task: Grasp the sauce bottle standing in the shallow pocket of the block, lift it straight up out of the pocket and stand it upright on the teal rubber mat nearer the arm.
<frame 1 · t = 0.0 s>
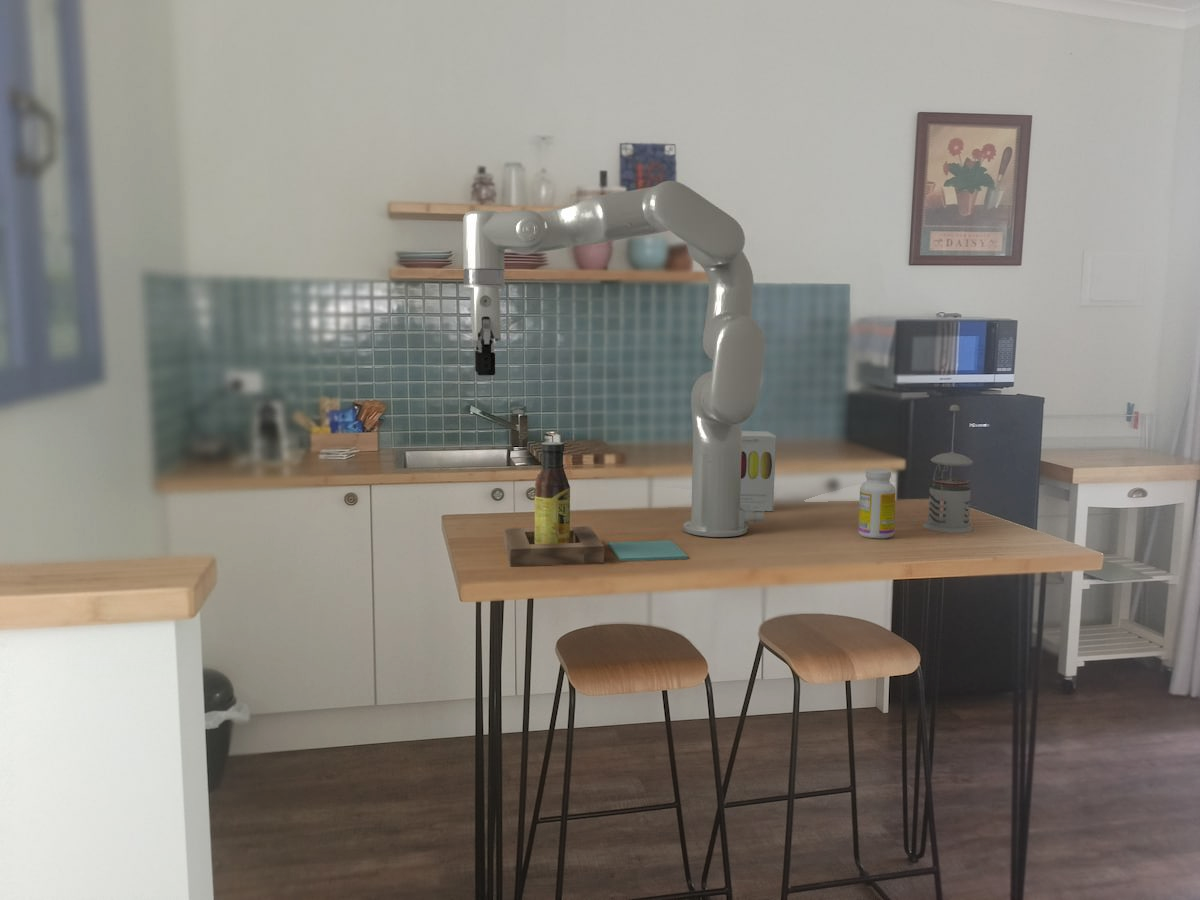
hand: (485, 373, 182), 31 cm above the table, tool pointing down, fingers open, 9 cm apart
sauce bottle: (552, 554, 174), resting in pocket block
supplement box: (748, 508, 217), on the table
french press: (946, 527, 199), on the table
supplement bottle: (875, 536, 191), on the table
pocket block: (552, 553, 174), on the table
teal mat: (646, 551, 176), on the table
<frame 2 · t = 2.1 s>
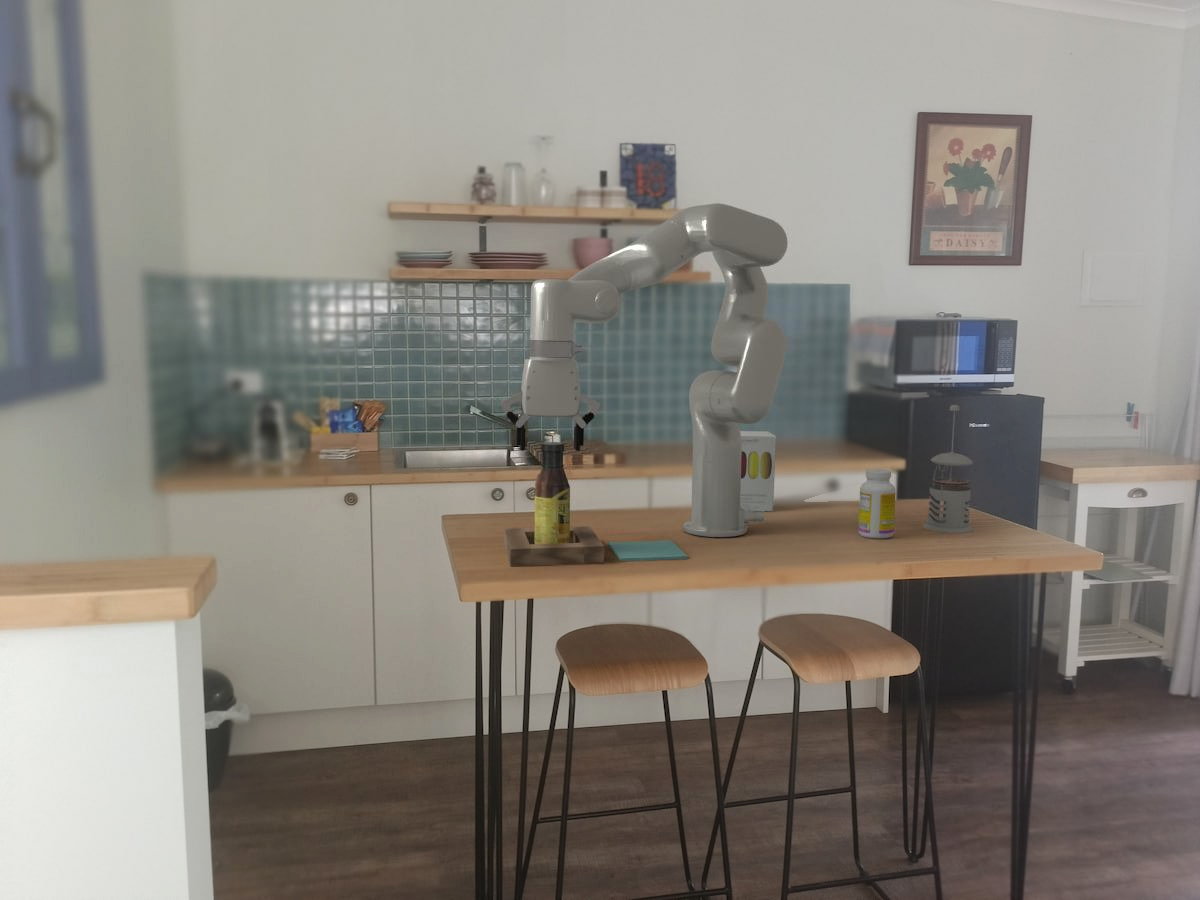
hand: (549, 449, 172), 19 cm above the table, tool pointing down, fingers open, 9 cm apart
nothing on the table moved.
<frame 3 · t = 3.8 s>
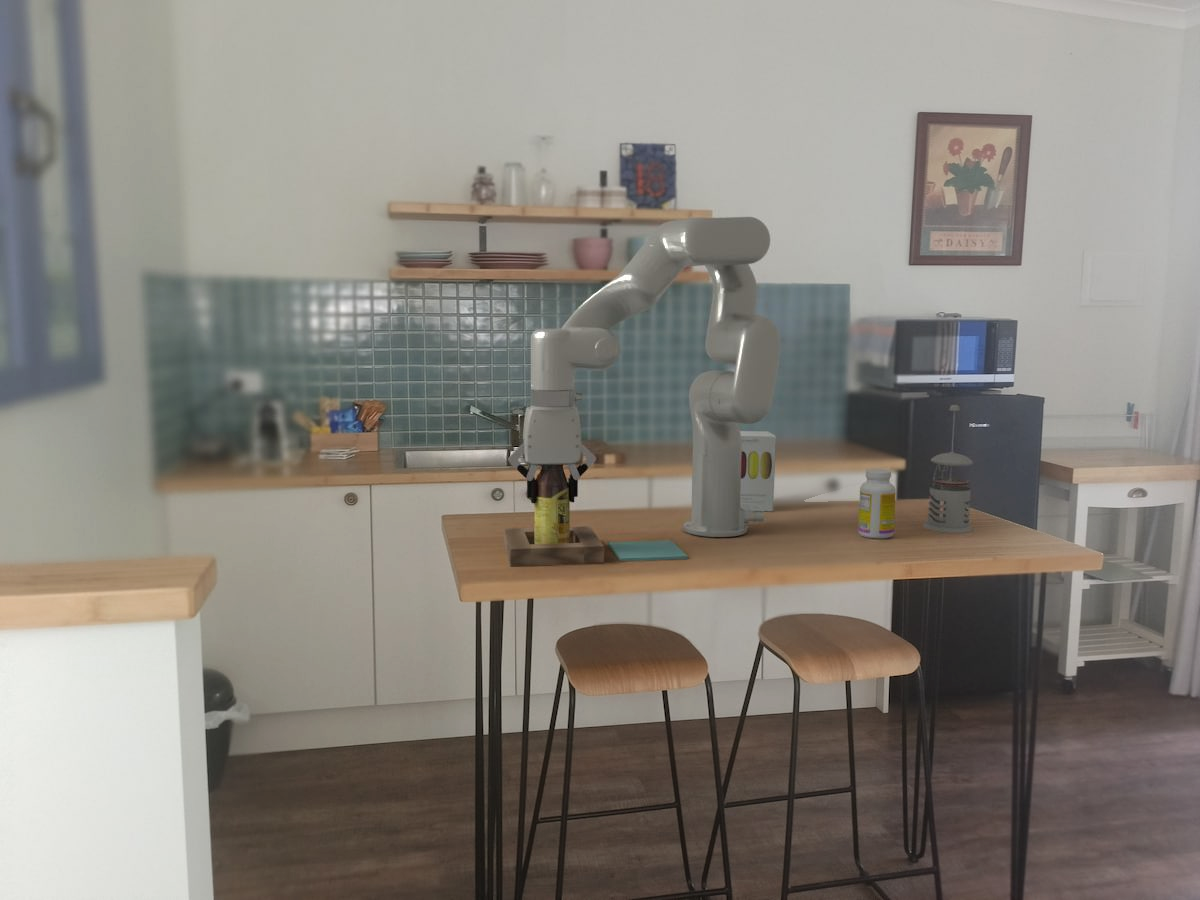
hand: (552, 500, 173), 10 cm above the table, tool pointing down, fingers closed on sauce bottle, 6 cm apart
sauce bottle: (552, 554, 174), resting in pocket block, touching gripper
everything else where it was.
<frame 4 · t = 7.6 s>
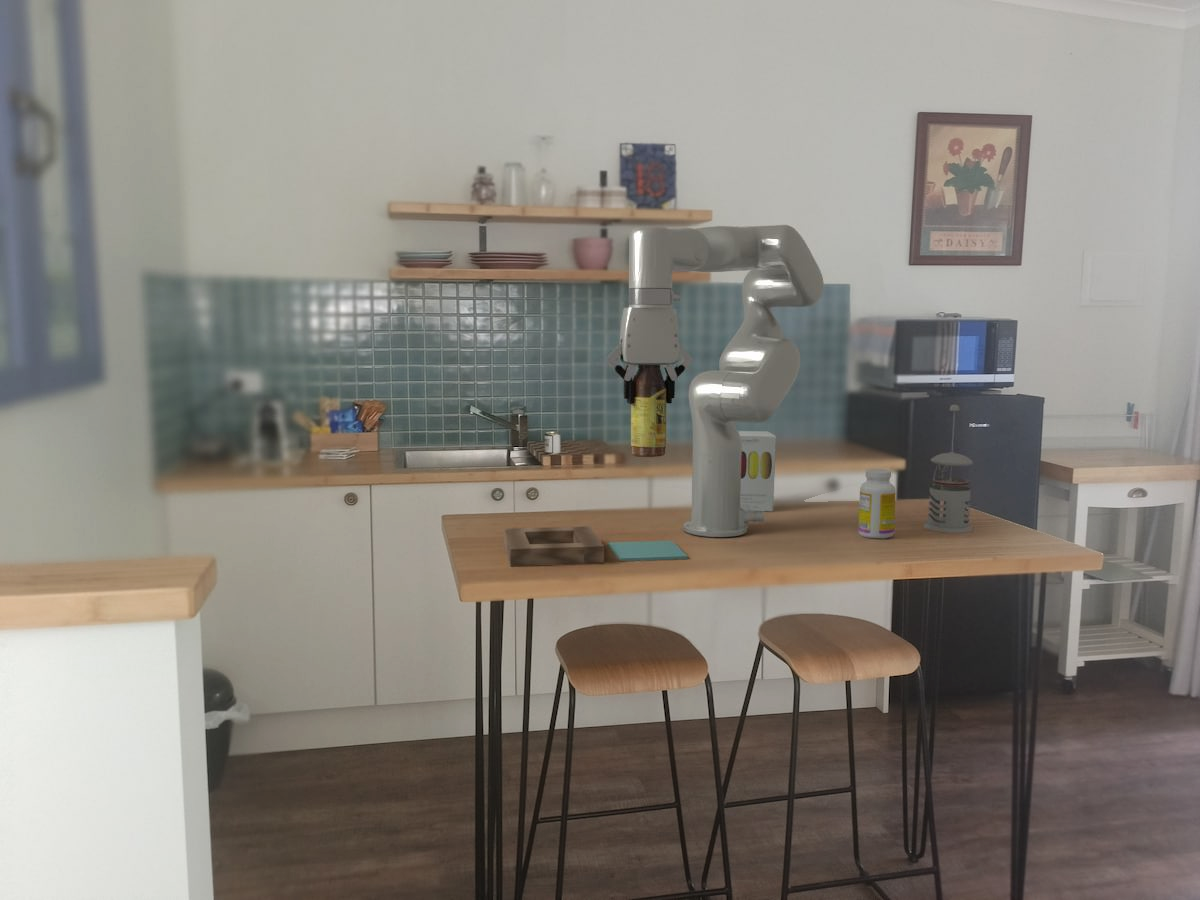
hand: (649, 402, 173), 27 cm above the table, tool pointing down, fingers closed on sauce bottle, 6 cm apart
sauce bottle: (648, 456, 174), point 17 cm above the table, touching gripper
everything else where it was.
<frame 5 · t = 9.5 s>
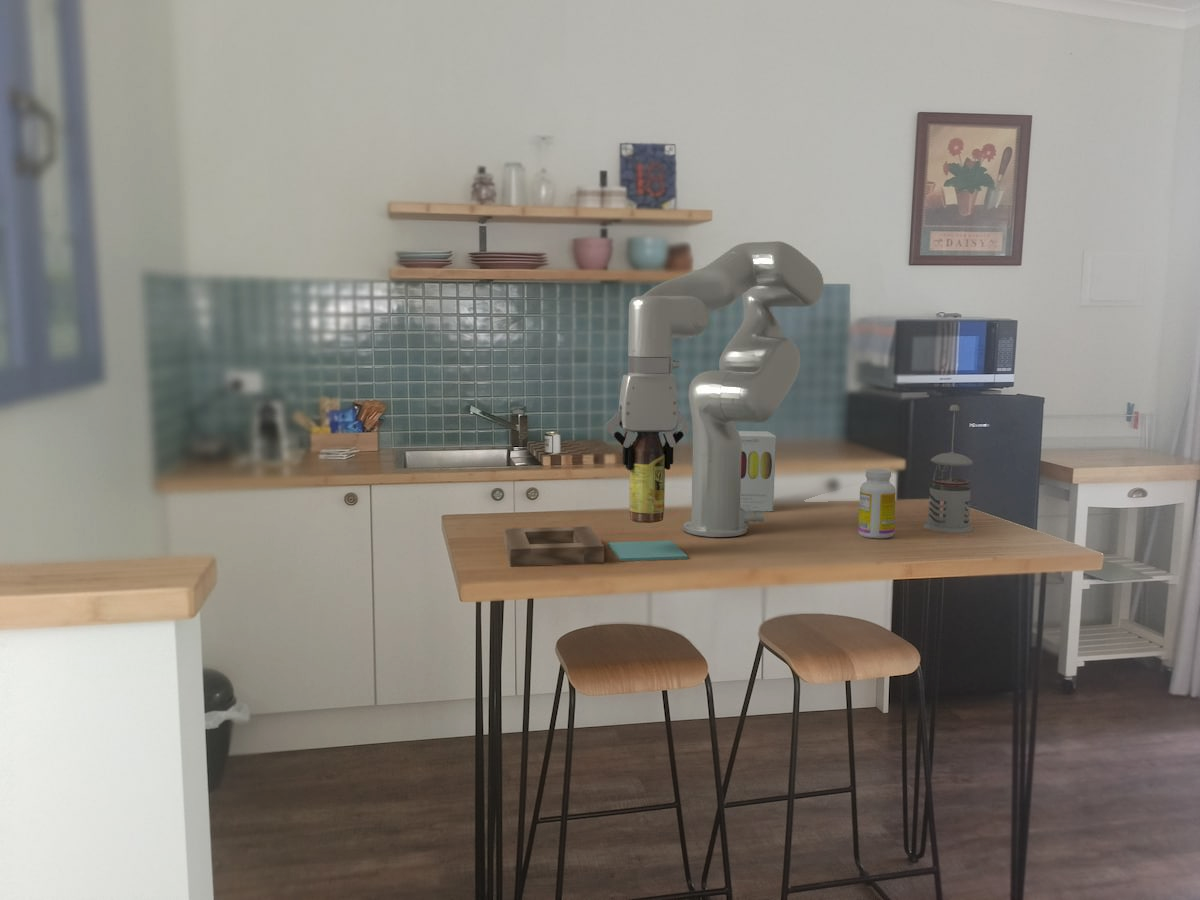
hand: (647, 467, 174), 15 cm above the table, tool pointing down, fingers closed on sauce bottle, 6 cm apart
sauce bottle: (646, 521, 175), point 6 cm above the table, touching gripper
everything else where it was.
when the fingers open (11 cm above the table, at t = 11.3 s): sauce bottle drops 1 cm, resting on teal mat.
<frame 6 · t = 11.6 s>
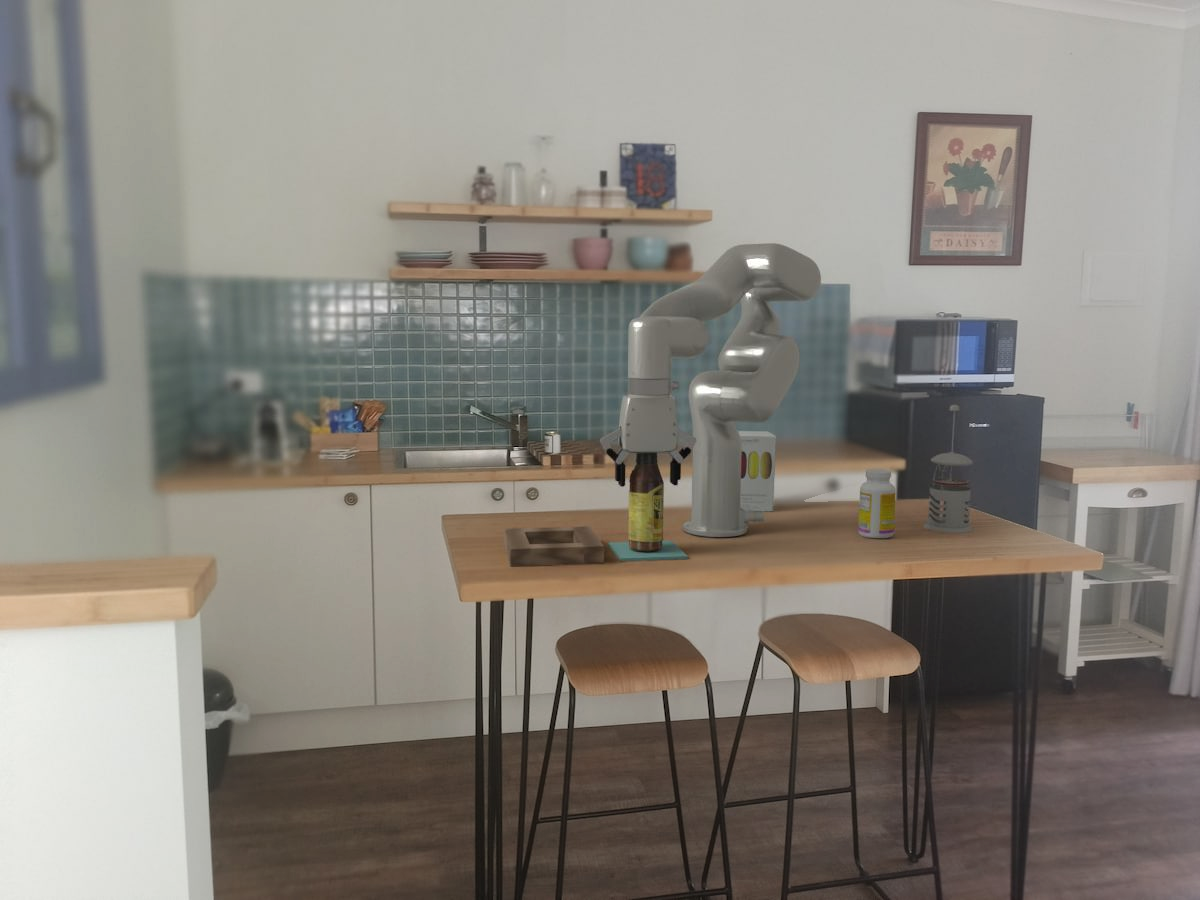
hand: (647, 484, 175), 12 cm above the table, tool pointing down, fingers open, 9 cm apart
sauce bottle: (645, 549, 176), resting on teal mat
everything else where it was.
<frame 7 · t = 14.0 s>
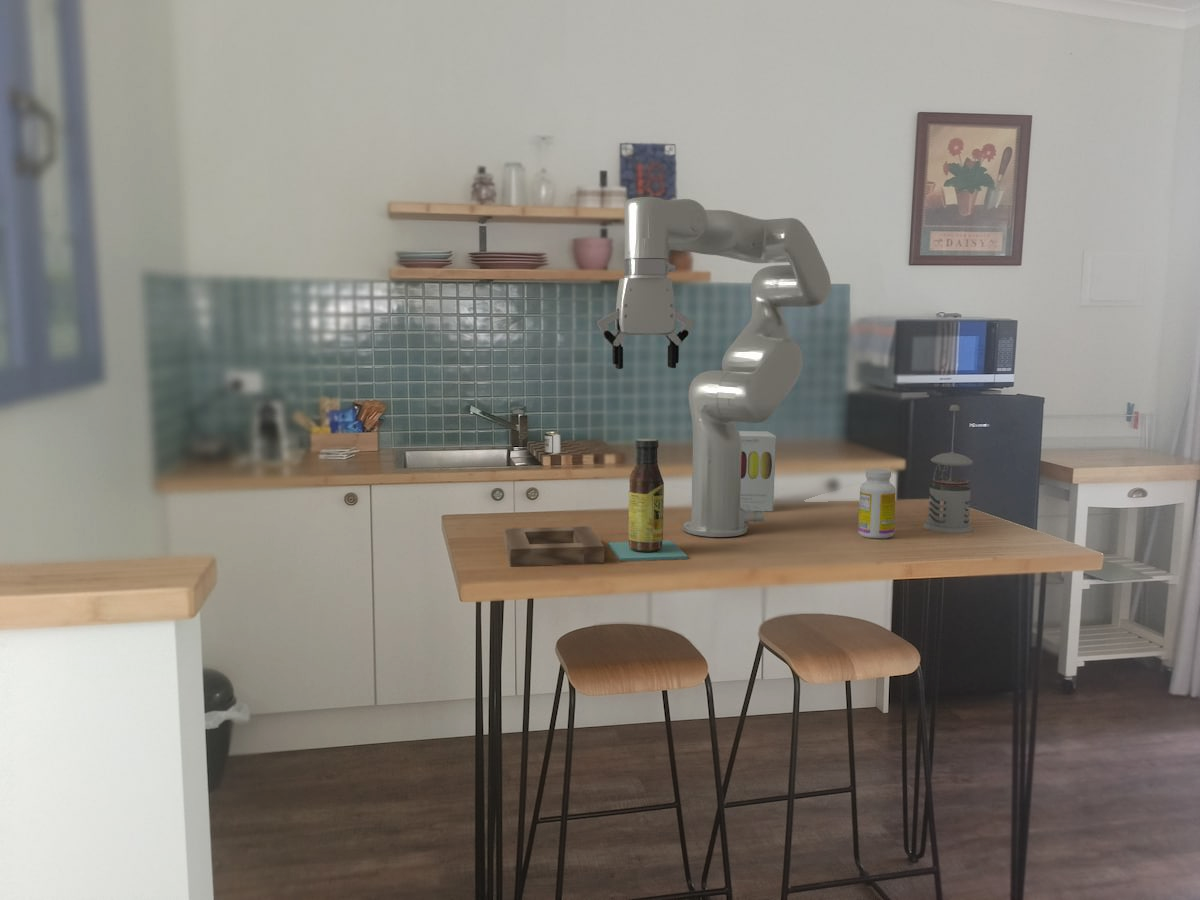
hand: (645, 368, 174), 33 cm above the table, tool pointing down, fingers open, 9 cm apart
nothing on the table moved.
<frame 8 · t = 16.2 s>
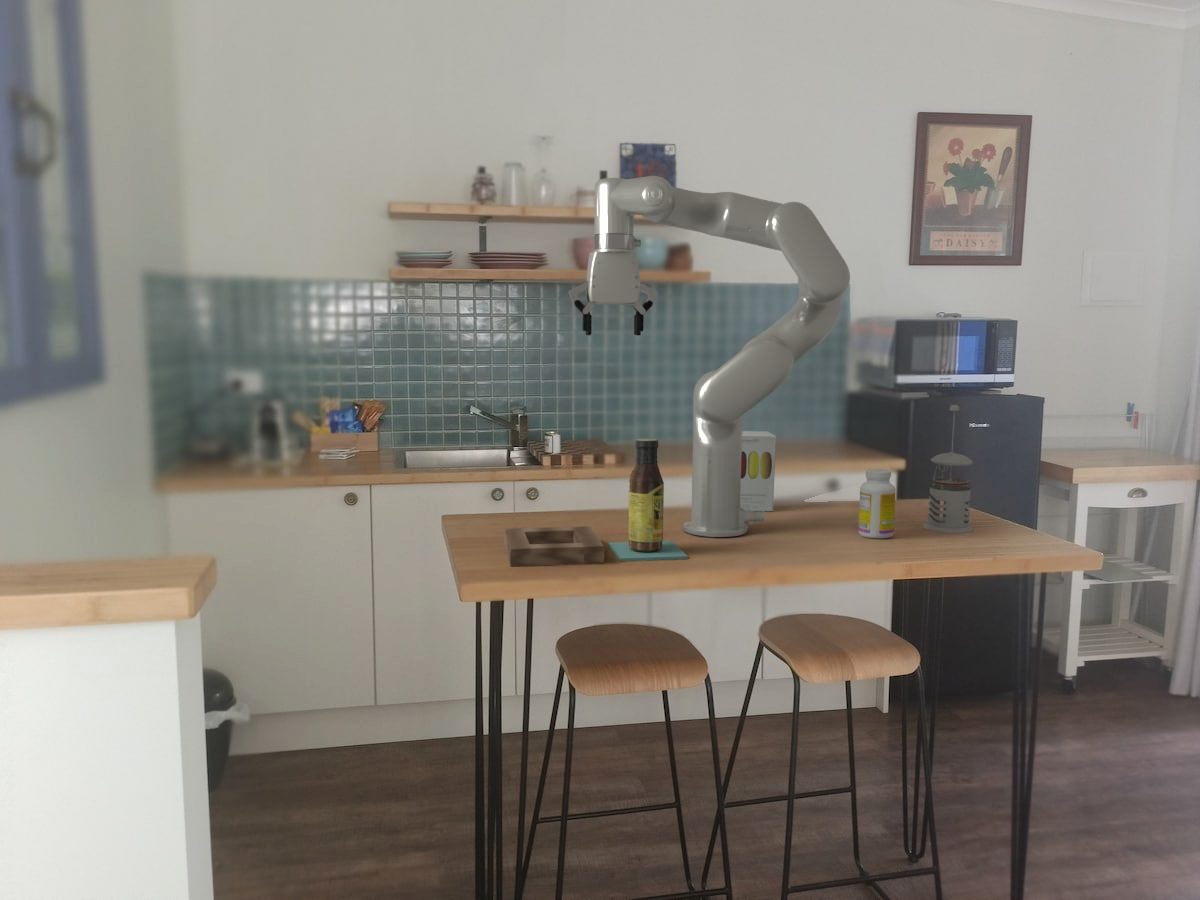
hand: (612, 335, 190), 38 cm above the table, tool pointing down, fingers open, 9 cm apart
nothing on the table moved.
at the end: sauce bottle inside the target area on the teal mat (0.2 cm from its centre), point 0.3 cm above the teal mat's base; sauce bottle tilted 0°; the gripper is holding nothing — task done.
